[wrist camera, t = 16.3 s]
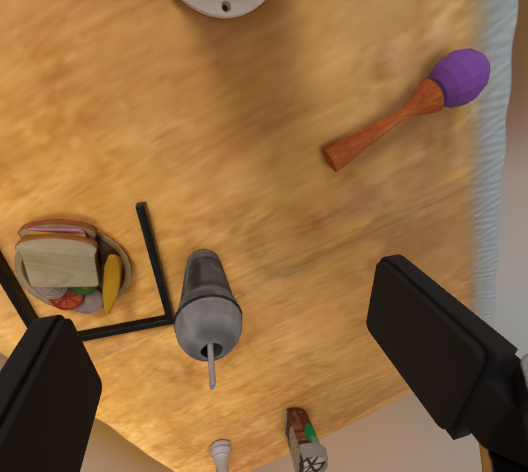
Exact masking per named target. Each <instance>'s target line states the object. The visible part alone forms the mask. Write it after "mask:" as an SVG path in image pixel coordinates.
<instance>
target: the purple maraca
mask: <svg viewBox="0 0 528 472" xmlns="http://www.w3.org/2000/svg"><path fill="white" fill-rule="evenodd" d="M489 75H490V63H489V61H488V59H487V57H486V56H485V55H484V54H483V53H480V52H478V51H476V50H474V49H462V50H456V51H453V52H452V53H450V54H449V55H447V56H446V57H444V58H443V59H441V60H440V61H439V62H438V63H437V64H436V66H435V67H434V68H433V70H432V72H431V74H430V76H429V79H424V80H422V81H421V83H420V84H419V86H418V87H417V89H416V90H415V91H414V93H413V94H412V96H411V97H410V99H409V100H408V101H407V103H406V104H405V106H404V107H403V109H401V110H399V111H398V112H396V113H394V114H392V115H390V116H388V117H386V118H384V119H382V120H380V121H378V122H376V123H374V124H372V125H370V126H368V127H366V128H364V129H362V130H360V131H358V132H356V133H354V134H352V135H350V136H348V137H346V138H344V139H342V140H340V141H338V142H336V143H334V144H332V145H330V146H328V147H326V148H324V149H323V153H324V156H325V158H326V160H327V162H328V163H329V165H330V166H331V168H332V169H333V170H334V171H335V172H337V171H338V170H340V169H341V168H342V167H344V166H345V165H346V164H347V163H349V162H350V161H351V160H352V159H354V158H355V157H356V156H358V155H359V154H360V153H361V152H363V151H364V150H365V149H367V148H368V147H369V146H370V145H372V144H373V143H374V142H375V141H377V140H378V139H379V138H381V137H382V136H383V135H384V134H386V133H387V132H388V131H389V130H391V129H392V128H393V127H395V126H396V125H397V124H398V123H400V122H401V121H402V120H404V119H405V118H406V117H410V116H417V115H423V114H430V113H436V112H440V111H441V110H442V109H443V107H448V108H453V107H458V106H462V105H465V104H467V103H469V102H470V101H472V100H474V99H475V98H476V97H477V96H478V95H479V94H480V92H481V91H482V90H483V89H484V87H485V86H486V85H487V83H488V79H489Z"/></svg>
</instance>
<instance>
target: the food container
mask: <svg viewBox="0 0 528 472" xmlns="http://www.w3.org/2000/svg"><path fill="white" fill-rule="evenodd" d="M285 434H286V438H287V442H288V446H289V449H290V453H291V457H292V461H293V464H294V468H295V472H325V470H326V469H327V466H328V457H327V452H326V448H325V447H324V446H322V445H320V443H319V440H318V438H317V436H316V433H315V431H314V429H313V427H312V424H311V422H310V420H309V418H308V415H307V413H306V411H305V410H303V409H301V408H288V409H287V410H286V427H285Z"/></svg>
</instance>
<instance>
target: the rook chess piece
mask: <svg viewBox="0 0 528 472" xmlns="http://www.w3.org/2000/svg"><path fill="white" fill-rule="evenodd" d="M230 445H231V444H230V443H229V442H228V441H227V440H218V441H216V442H214V443H213V444H212V445H211V447H210V451H211V454H210V455H211V457H212V458H213V461H214V462H215V466H216V472H229V470H228V458H229V454H230V451H231V448H230Z"/></svg>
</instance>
